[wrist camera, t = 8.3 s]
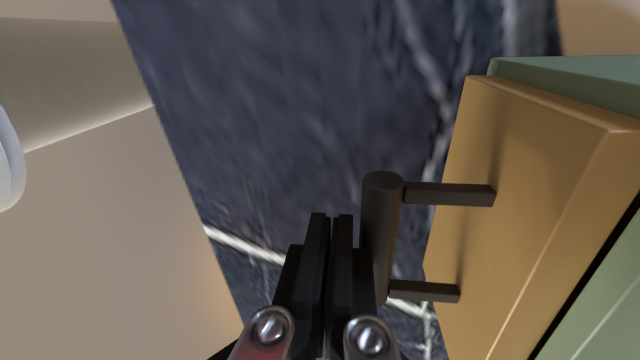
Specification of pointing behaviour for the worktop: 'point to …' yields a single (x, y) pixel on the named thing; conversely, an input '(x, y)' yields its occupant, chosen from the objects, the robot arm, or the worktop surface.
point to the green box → (635, 241)
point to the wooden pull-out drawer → (510, 216)
